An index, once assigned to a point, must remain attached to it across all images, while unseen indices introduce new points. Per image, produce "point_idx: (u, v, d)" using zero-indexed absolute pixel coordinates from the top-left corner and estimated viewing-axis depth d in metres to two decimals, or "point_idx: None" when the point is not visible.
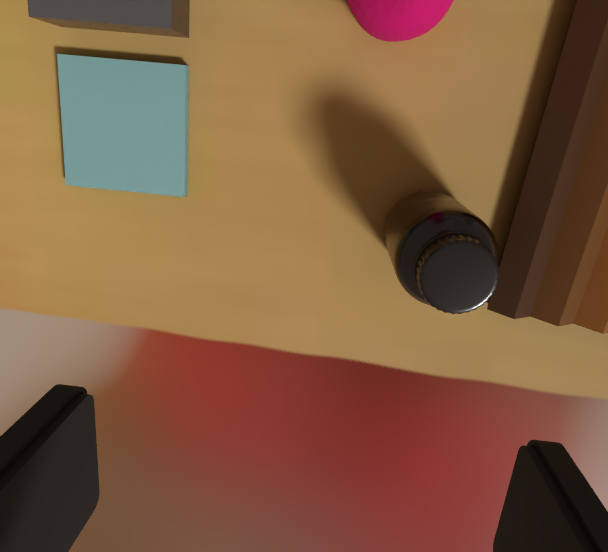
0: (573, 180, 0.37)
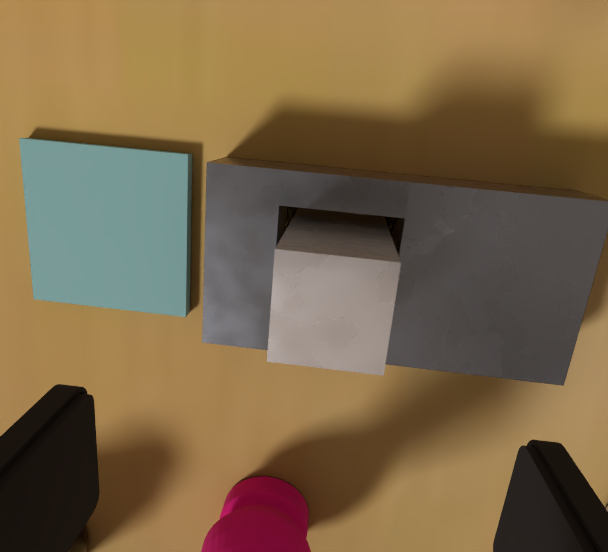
0: None
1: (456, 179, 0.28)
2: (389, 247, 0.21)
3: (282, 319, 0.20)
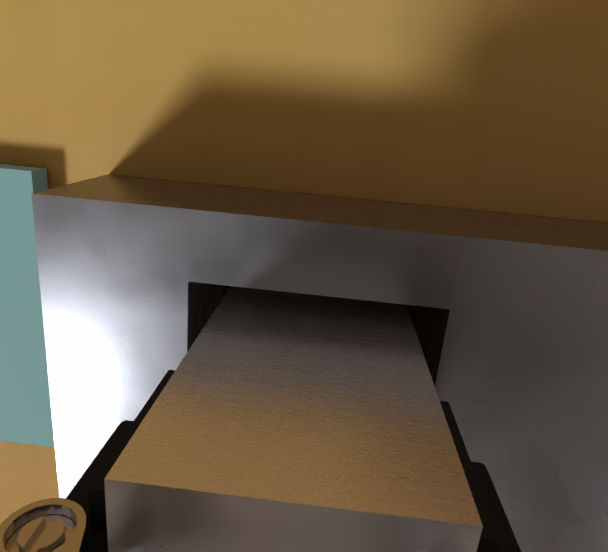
0: None
1: (534, 216, 0.15)
2: (430, 419, 0.08)
3: None
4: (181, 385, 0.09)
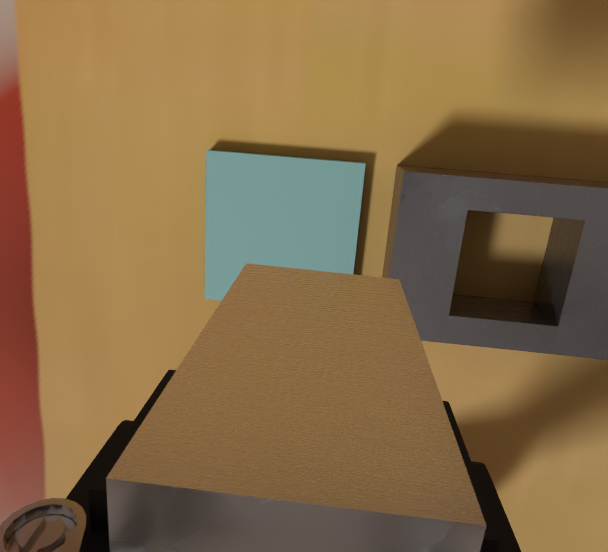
0: None
1: None
2: (433, 418, 0.08)
3: None
4: (183, 384, 0.09)
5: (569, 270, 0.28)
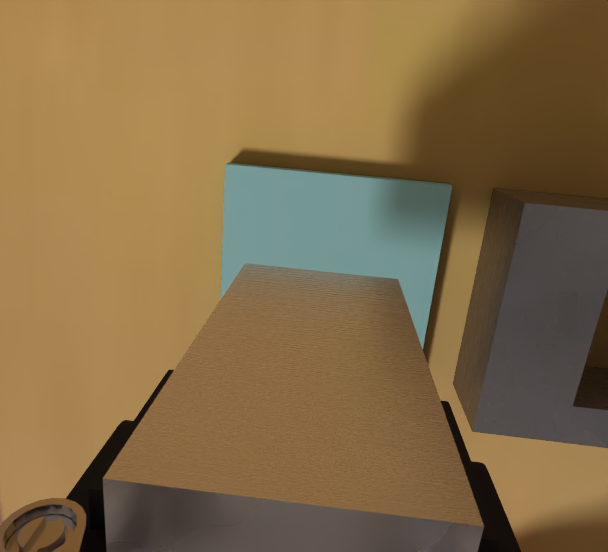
0: None
1: None
2: (431, 418, 0.08)
3: None
4: (180, 384, 0.09)
5: None
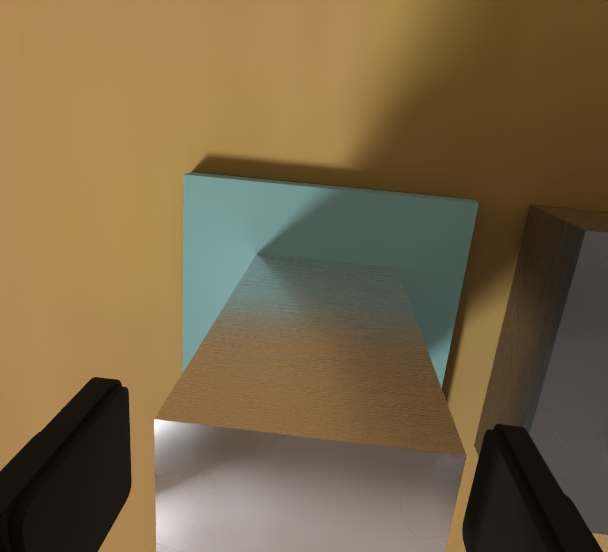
0: None
1: None
2: (425, 378, 0.10)
3: None
4: (209, 351, 0.10)
5: None
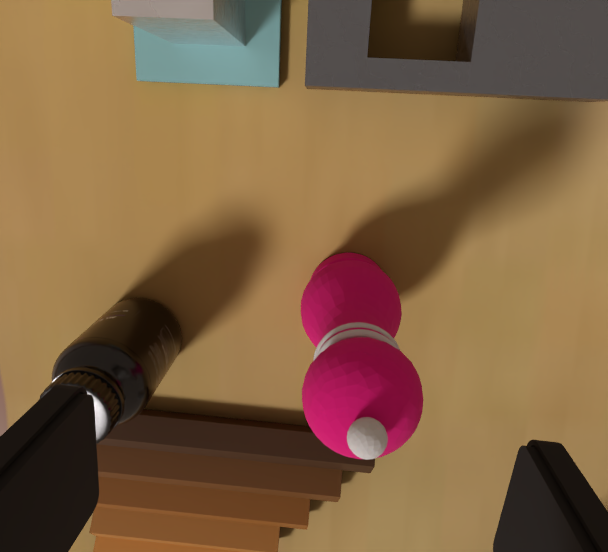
0: (215, 456, 0.43)
1: None
2: None
3: None
4: None
5: (478, 1, 0.29)
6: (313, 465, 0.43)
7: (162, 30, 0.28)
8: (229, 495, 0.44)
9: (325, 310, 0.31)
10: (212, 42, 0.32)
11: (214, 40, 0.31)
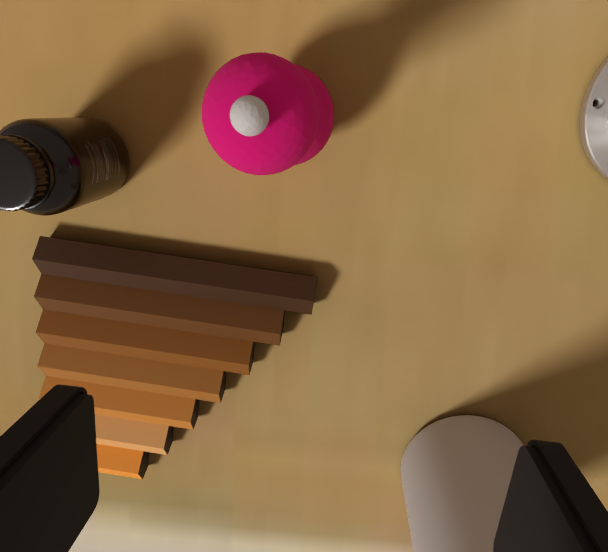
0: (161, 291, 0.44)
1: None
2: None
3: None
4: None
5: None
6: (255, 302, 0.44)
7: None
8: (174, 333, 0.45)
9: None
10: None
11: None
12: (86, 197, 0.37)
